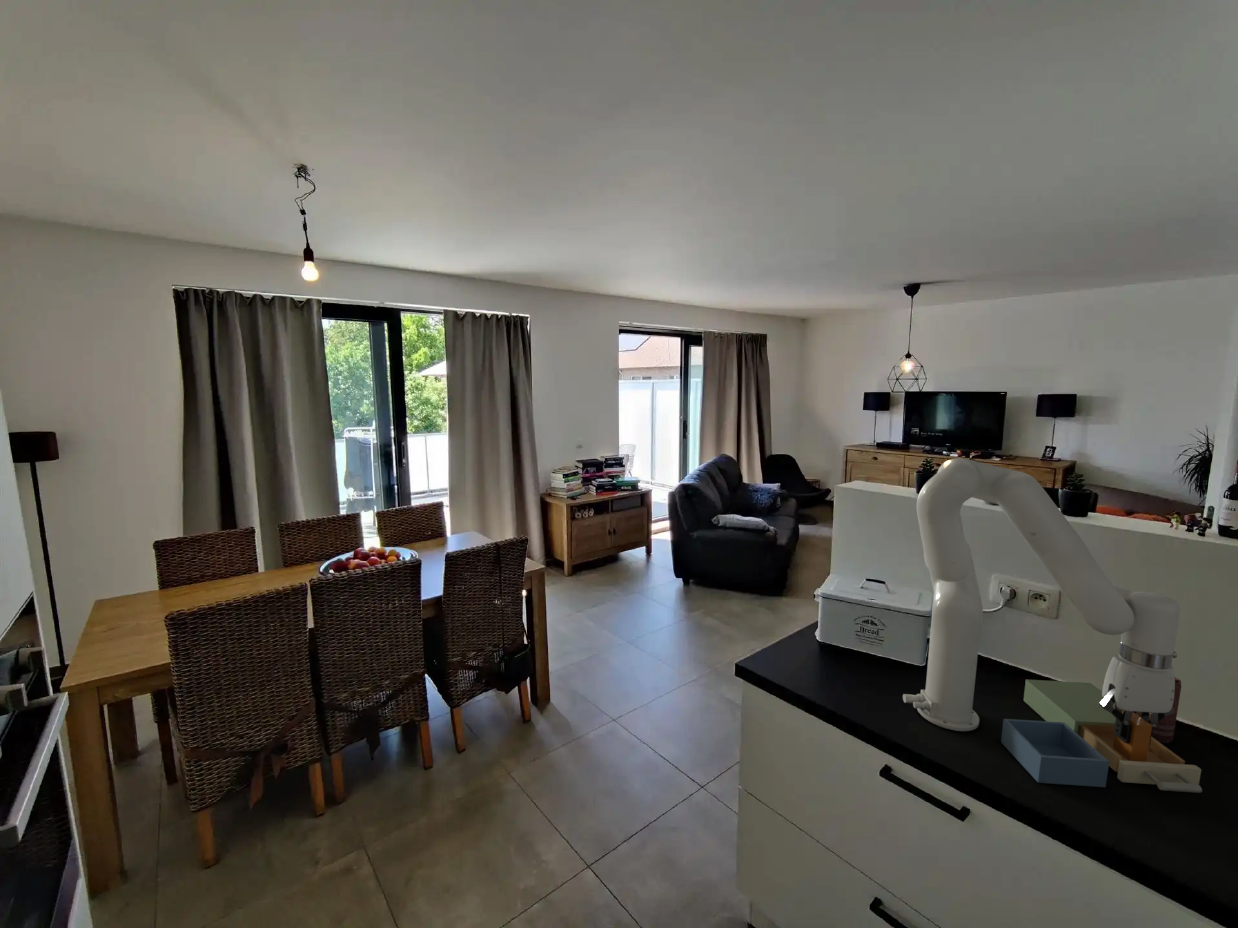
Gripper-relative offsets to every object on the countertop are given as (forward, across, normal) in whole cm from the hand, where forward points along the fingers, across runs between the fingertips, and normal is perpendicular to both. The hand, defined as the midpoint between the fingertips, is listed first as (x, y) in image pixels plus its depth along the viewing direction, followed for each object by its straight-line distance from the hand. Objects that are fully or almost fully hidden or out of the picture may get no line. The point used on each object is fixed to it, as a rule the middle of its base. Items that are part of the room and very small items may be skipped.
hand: (1131, 738), depth 110 cm
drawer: (+5, 0, +1) cm, 5 cm away
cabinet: (+6, 0, -13) cm, 15 cm away
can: (+6, -13, -10) cm, 18 cm away
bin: (+6, +16, +2) cm, 17 cm away
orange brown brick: (+3, 0, 0) cm, 3 cm away
